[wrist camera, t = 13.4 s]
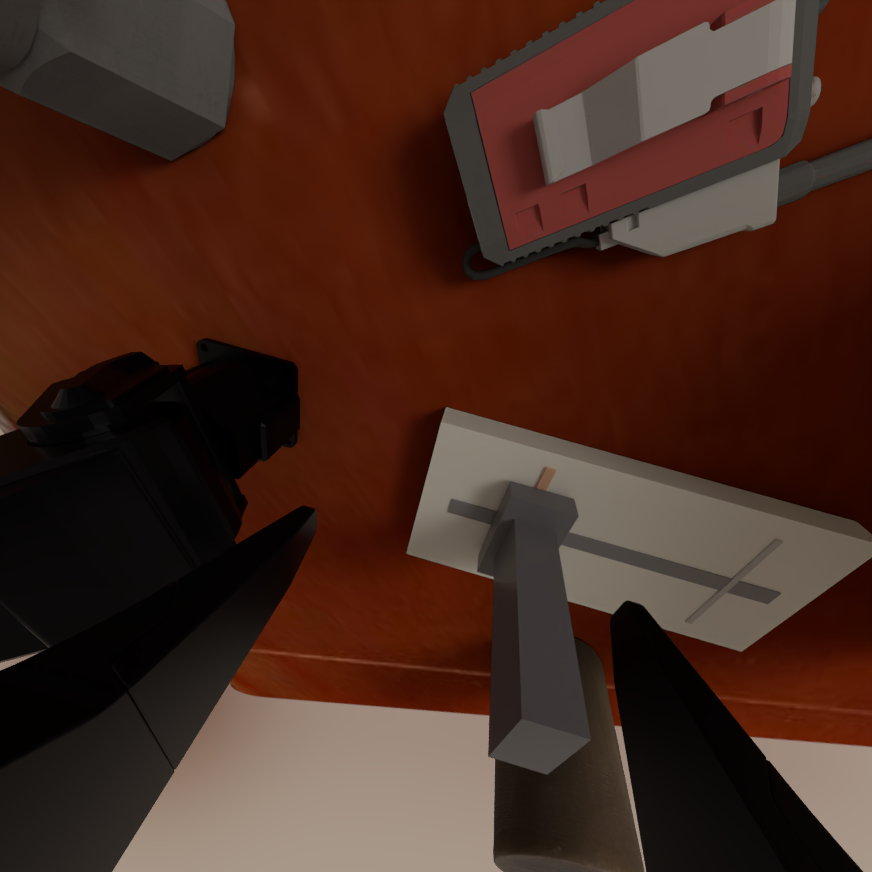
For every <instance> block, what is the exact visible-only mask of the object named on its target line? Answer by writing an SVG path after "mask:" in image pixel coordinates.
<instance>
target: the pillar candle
mask: <svg viewBox="0 0 872 872" xmlns="http://www.w3.org/2000/svg"><path fill="white" fill-rule="evenodd" d="M574 642H575V648H576V654H577V660H578V666H579V672H580V678H581V683H582V689H583V695H584V701H585V707H586V713H587V719H588V725H589V731H590V737H591V740H590V741H589V742H588V743H586V744H585V745H584V746H583V747H581V748H580V749H579V750H578V751H576V752H575V753H574V754H573V755H571V756H570V757H569V758H568V759H566V760H565V761H564V762H563V763H561V764H560V765H559V766H558V767H556V768H555V769H554V770H552V771H551V772H550V773H549V774H547V775H546V774H543V773H540V772H537V771H533V770H530V769H527V768H524V767H520V766H517V765H514V764H511V763H507V762H504V761H501V760H498V759H495V802H494V805H495V807H494V849H493V854H494V862H495V864H496V866H497V867H498V868H499V869H501V870H502V871H503V872H644V867H643V862H642V857H641V853H640V848H639V843H638V838H637V834H636V829H635V824H634V819H633V814H632V810H631V804H630V800H629V795H628V790H627V785H626V780H625V775H624V771H623V766H622V761H621V756H620V751H619V746H618V741H617V736H616V732H615V727H614V722H613V717H612V712H611V707H610V702H609V698H608V691H607V687H606V681H605V676H604V670H603V666H602V663H601V661H600V659H599V657H598V656H597V654H596V653H595V651H594V650H593V649H592V648H591V647H590V646H589V645H587V644H586V643H584V642H582V641H581V640H579V639H576V638H574Z"/></svg>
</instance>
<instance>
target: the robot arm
mask: <svg viewBox="0 0 872 872" xmlns="http://www.w3.org/2000/svg"><path fill="white" fill-rule="evenodd" d="M206 345H207V347H208V349H207V348H206ZM197 348H198V354H199V361H200V365H198V366H196V367H193V368H191V369H189V370H187V371H185V370H184V367H183V365H159V363H158V362H155V361H154V360H153V359H151V358H150V357H148V356H147V355H145V354H144V353H143V352H130V353H127V354H124V355H121V356H118V357H115V358H112V359H109V360H106V361H103V362H101V363H98V364H96V365H94V366H92V367H90V368H88V369H87V370H85V371H82V372H80V373H78V374H77V375H76V376H75V377H73V378H70V379H66V380H63V381H59V382H56V383H53V384H51V385H50V386H49V387H48V388H47V389H46V390H45V392H44V393H43V394H42V395H41V396H40V397H39V398H38V399H37V400H36V401H35V402H34V403H33V405H32V406H31V407H30V408H29V409H28V410H27V411H26V412H25V413H24V414H23V415H22V416H21V417H20V419H19V420H18V421H17V423H16V425H17V426H18V427H19V428H20V429H18V430H15V431H12V432H9V433H6V434H4V435H1V436H0V663H1V662H5V661H9V660H12V659H16V658H20V657H23V656H27V655H31V654H35V653H38V654H36V655H34V656H32V657H30V658H28V659H26V660H24V661H22V662H19V663H17V664H15V665H13V666H10V667H8V668H6V669H3V670H1V671H0V872H112V871H113V869H114V868H115V866H116V865H117V863H118V861H119V860H120V858H121V856H122V855H123V853H124V852H125V850H126V848H127V847H128V845H129V843H130V842H131V840H132V839H133V837H134V835H135V834H136V832H137V831H138V829H139V828H140V826H141V824H142V823H143V821H144V820H145V818H146V816H147V815H148V813H149V812H150V810H151V808H152V807H153V805H154V804H155V802H156V800H157V799H158V797H159V795H160V794H161V792H162V791H163V789H164V787H165V786H166V784H167V783H168V781H169V779H170V778H171V776H172V775H173V773H174V769H176V768H177V766H178V765H179V763H180V761H181V760H182V758H183V757H184V755H185V753H186V752H187V750H188V749H189V747H190V745H191V744H192V742H193V740H194V739H195V737H196V736H197V734H198V732H199V731H200V729H201V728H202V726H203V724H204V723H205V721H206V720H207V718H208V716H209V715H210V713H211V712H212V710H213V708H214V707H215V705H216V704H217V702H218V701H219V699H220V697H221V696H222V694H223V693H224V691H225V689H226V688H227V686H228V685H229V683H230V681H231V680H232V678H233V677H234V675H235V673H236V672H237V670H238V668H239V667H240V665H241V664H242V662H243V660H244V659H245V657H246V656H247V654H248V652H249V651H250V649H251V648H252V646H253V644H254V643H255V641H256V640H257V638H258V636H259V635H260V633H261V632H262V630H263V628H264V627H265V625H266V624H267V622H268V620H269V619H270V617H271V616H272V614H273V612H274V611H275V609H276V608H277V606H278V604H279V603H280V601H281V600H282V598H283V596H284V595H285V593H286V591H287V590H288V588H289V586H290V584H291V583H292V581H293V579H294V577H295V574H296V572H297V570H298V568H299V566H300V564H301V562H302V560H303V558H304V556H305V554H306V552H307V550H308V548H309V545H310V543H311V541H312V539H313V537H314V535H315V532H316V523H317V511H316V509H314V508H311V507H307V506H301V507H299V508H297V509H295V510H294V511H292V512H290V513H289V514H287V515H285V516H284V517H282V518H280V519H279V520H277V521H275V522H274V523H272V524H270V525H268V526H267V527H265V528H263V529H262V530H260V531H258V532H257V533H255V534H253V535H252V536H250V537H248V538H247V539H245V540H243V541H242V542H240V543H238V544H236V542H235V538H236V536H237V534H238V532H239V529H240V527H241V525H242V518H241V517H242V515H243V513H244V510H245V508H246V506H247V504H248V502H247V500H246V498H245V496H244V495H242V494H241V492H240V489H239V487H238V485H237V483H236V481H235V479H239V478H241V477H242V476H243V475H244V474H245V473H246V472H247V471H248V470H249V469H250V468H251V467H252V466H253V465H255V464H256V463H257V462H258V461H259V460H260V461H263V462H264V461H266V460H268V459H269V458H270V457H271V456H272V455H273V454H274V453H275V452H276V451H277V450H278V449H279V448H280V447H281V446H285V447H289V448H291V447H293V446H294V445H295V444H296V443H297V431H298V430H299V428H300V398H299V396H298V370H297V367H296V365H295V364H294V363H293V362H290V361H287V360H283V359H280V358H276V357H273V356H269V355H265V354H262V353H258V352H255V351H251V350H247V349H244V348H240V347H237V346H233V345H230V344H226V343H222V342H219V341H215V340H212V339H208V338H205V339H202V340H200V341H198V343H197ZM286 367H288V368H289V369H290V370H291V372H289V371H288V370H287V368H286ZM289 440H290V441H291V442H290V441H289ZM234 478H235V479H234ZM610 631H611V646H612V660H613V674H614V683H615V690H616V696H617V702H618V708H619V714H620V720H621V725H622V731H623V736H624V743H625V749H626V754H627V761H628V767H629V772H630V778H631V784H632V789H633V796H634V801H635V808H636V813H637V819H638V825H639V831H640V837H641V843H642V849H643V855H644V861H645V866H646V872H863V871H862V870H861V869H860V868H859V867H858V865H857V864H856V863H855V862H854V861H853V860H852V859H851V857H850V856H849V855H848V854H847V853H846V852H845V851H844V850H843V848H842V847H841V846H840V845H839V844H838V843H837V841H836V840H835V839H834V838H833V837H832V836H831V835H830V833H829V832H828V831H827V830H826V829H825V828H824V826H823V825H822V824H821V823H820V822H819V821H818V819H817V818H816V817H815V816H814V815H813V814H812V813H811V811H810V810H809V809H808V808H807V806H806V805H805V804H804V803H803V802H802V800H801V799H800V798H799V797H798V796H797V794H796V793H795V792H794V791H793V790H792V788H791V787H790V786H789V785H788V784H787V782H786V781H785V780H784V779H783V777H782V776H781V775H780V774H779V773H778V771H777V770H776V769H775V768H774V766H773V765H772V764H771V763H770V761H768V760H766V757H765V755H764V754H763V753H762V752H761V750H760V749H759V748H758V747H757V745H756V744H755V743H754V742H753V740H752V739H751V738H750V737H749V736H748V734H747V733H746V732H745V731H744V729H743V728H742V727H741V726H740V724H739V723H738V722H737V721H736V719H735V718H734V717H733V716H732V714H731V713H730V712H729V711H728V710H727V708H726V707H725V706H724V705H723V703H722V702H721V701H720V700H719V698H718V697H717V696H716V695H715V693H714V692H713V691H712V690H711V689H710V687H709V686H708V685H707V684H706V682H705V681H704V680H703V679H702V677H701V676H700V675H699V674H698V672H697V671H696V670H695V669H694V667H693V666H692V665H691V664H690V663H689V661H688V660H687V659H686V658H685V656H684V655H683V654H682V653H681V651H680V650H679V649H678V648H677V646H676V645H675V644H674V643H673V642H672V640H671V639H670V638H669V637H668V635H667V634H666V633H665V632H664V630H663V629H662V628H661V627H660V625H659V624H658V623H657V622H656V620H655V619H654V618H653V617H652V616H651V614H650V613H649V612H648V611H647V609H646V608H645V607H644V606H643V605H641V604H639V603H636V602H632V601H628V600H627V601H625V602H623V603H622V605H621V606H620V607H619V608H618V609H617V610H616V611H615V612H614V614H613V615H612V617H611V620H610ZM39 652H40V653H39Z"/></svg>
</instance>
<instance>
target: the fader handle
mask: <svg viewBox="0 0 872 872" xmlns="http://www.w3.org/2000/svg"><path fill="white" fill-rule="evenodd" d="M578 517H579V515H578V511H577V507H576V504H575V500H574V499H573V498H569V497H566V496H562V495H559V494H555V493H552V492H548V491H545V490H541V489H537V488H534V487H530V486H527V485H523V484H520V483H516V482H513V481H510V483H509V485H508V488H507V490H506V492H505V495H504V497H503V499H502V501H501V504H500V506H499V508H498V511H497V513H496V515H495V517H494V520H493V522H492V524H491V527H490V529H489V531H488V533H487V536H486V538H485V540H484V543H483V545H482V547H481V550H480V552H479V554H478V565H477V572H479V573H483V574H486V575H489V576H493V577H494V588H493V621H492V653H491V686H490V718H489V719H490V720H489V751H488V752H489V753H488V756H489V757H491V758H495V759H498V760H501V761H504V762H507V763H511V764H514V765H517V766H520V767H524V768H527V769H530V770H533V771H537V772H540V773H543V774H546V775H547V774H549V773H550V772H551V771H552V770H554V769H555V768H556V767H558V766H559V765H560V764H561V763H563V762H564V761H565V760H566V759H568V758H569V757H570V756H571V755H573V754H574V753H575V752H576V751H578V750H579V749H580V748H581V747H583V746H584V745H585V744H586V743H588V742H589V741H590V740H591V737H590V731H589V725H588V719H587V713H586V707H585V701H584V695H583V689H582V683H581V678H580V672H579V666H578V660H577V654H576V648H575V642H574V636H573V630H572V624H571V619H570V613H569V607H568V601H567V595H566V589H565V583H564V577H563V571H562V565H561V560H560V554H559V547H560V546H561V544H562V543H563V541H564V539H565V538H566V536H567V534H568V533H569V531H570V530H571V528H572V526H573V525H574V523H575V522H576V520H577V518H578Z"/></svg>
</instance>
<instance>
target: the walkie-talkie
mask: <svg viewBox="0 0 872 872" xmlns="http://www.w3.org/2000/svg"><path fill="white" fill-rule="evenodd" d="M828 1H829V0H606V1H604V2H602V3H600V2H599V1H598V2H596V3H594V5H593V7H592V9H590V10H588V11H587V12H585V13H582V12H581V11H580V12H579V13H577V14H576V16H575V19H573V20H571V21H569V22H568V23H565V22H564V21H563V22H561V23H560V24H559V27H558V28H557V29H556V30H554V31H552V32H550V33H549V32H548V31H546V32H544V33H543V35H542V38H540V39H538V40H536V41H535V42H532V41H531V40H530V41H529V42H527V44H526V47H524V48H523V49H521V50H519V51H518V52H517V51H516V49H515V50H513V51H512V52H511V56H509V57H507V58H505V59H504V60H501V59H500V58H499V59H498V60H496V64H495V65H493V66H492V67H490V68H488V69H486V67H484V68H482V69H481V73H479V74H478V75H476V76H474V77H472V76H471V75H470V76H469V77H467V81H466V82H464V83H462V84H460V85H459V86H458V84H457V83H456V84H455V86H454V89H453V91H452V93H451V96H450V98H449V101H448V103H447V106H446V108H445V111H444V117H445V121H446V125H447V129H448V132H449V136H450V140H451V143H452V147H453V150H454V154H455V158H456V161H457V165H458V168H459V172H460V176H461V179H462V183H463V186H464V190H465V193H466V197H467V201H468V204H469V208H470V211H471V215H472V219H473V222H474V226H475V229H476V233H477V237H478V240H479V242H478V243H476V244H474V245H472V246H471V247H469V248H468V249H467V250H466V251H465V254H464V256H463V258H462V260H463V271H464V273H465V274H466V276H467V277H469V278H470V279H473V280H487V279H489V278H492V277H494V276H497V275H500V274H502V273H505V272H507V271H510V270H513V269H515V268H518V267H521V266H523V265H526V264H528V263H531V262H534V261H536V260H539V259H541V258H544V257H547V256H549V255H552V254H555V253H558V252H561V251H564V250H567V249H569V248H573V247H580V248H586V249H588V248H593V247H596V249H597V250H604V249H607V248H610V247H612V246H615V245H618V244H620V245H623V246H626V247H629V248H631V249H634V250H637V251H640V252H643V253H646V254H649V255H654V256H660V257H665V256H668V255H671V254H674V253H677V252H680V251H683V250H686V249H689V248H692V247H695V246H698V245H701V244H704V243H707V242H710V241H712V240H715V239H718V238H721V237H724V236H727V235H730V234H733V233H736V232H739V231H753V230H756V229H759V228H762V227H765V226H767V225H770V224H773V223H774V222H775V220H776V213H777V207H779V206H782V205H784V204H787V203H790V202H793V201H795V200H798V199H801V198H803V197H804V196H805V195H806V194H807V193H808V192H810V191H813V190H816V189H819V188H822V187H824V186H827V185H830V184H833V183H836V182H838V181H841V180H844V179H847V178H850V177H852V176H855V175H858V174H861V173H864V172H866V171H869V170H872V138H871V139H868V140H866V141H863V142H860V143H858V144H855V145H853V146H850V147H847V148H845V149H842V150H839V151H837V152H834V153H831V154H829V155H826V156H823V157H821V158H818V159H815V160H813V161H810V162H807V161H805V160H804V161H800V162H797V163H795V164H792V165H789V166H787V167H784V168H782V169H779V164H780V158H783V157H785V156H786V155H787V154H788V153H789V152H790V151H791V150H792V149H793V148H794V147H795V146H796V145H797V144H798V143H799V142H800V141H801V139H802V136H803V133H804V130H805V127H806V124H807V121H808V117H809V114H810V107H811V106H813V104H814V103H815V102H816V101H817V99H818V97H819V94H820V91H821V82H820V79H819V78H818V77H813V70H814V58H815V47H816V35H817V23H818V16H819V14H820V13H821V12H822V10H823V9H824V8H825V7H826V5H827V3H828ZM596 227H600V231H601V232H599V233H596V234H594V237H593V238H590V239H585V238H578V237H579V236H581V233H583V232H592V231H594V230H595V228H596ZM570 237H576V238H571V239H568V238H570ZM479 251H482V254H483V257H484V258H486V259H488V260H490V261H492V262H494V263H497V264H499V265H498V266H496V267H493V268H491V269H488V270H484V271H475V270H473V269H472V267H471V258H472V256H473V255H474V254H475V253H477V252H479Z"/></svg>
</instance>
